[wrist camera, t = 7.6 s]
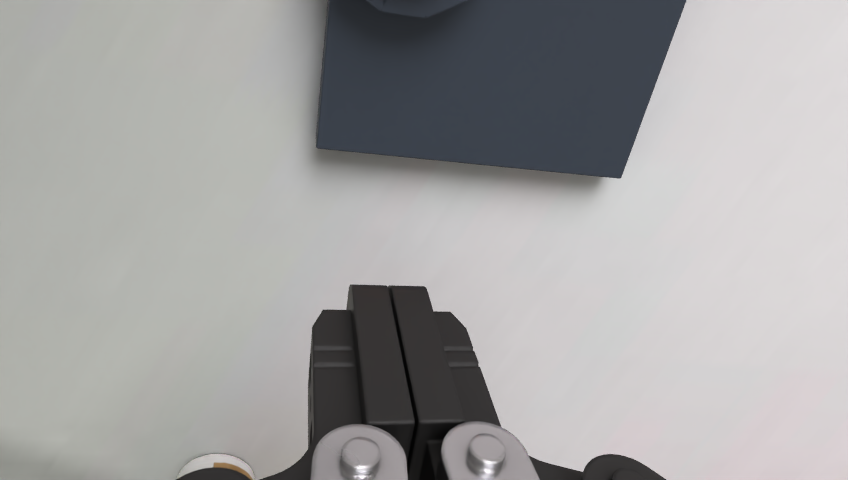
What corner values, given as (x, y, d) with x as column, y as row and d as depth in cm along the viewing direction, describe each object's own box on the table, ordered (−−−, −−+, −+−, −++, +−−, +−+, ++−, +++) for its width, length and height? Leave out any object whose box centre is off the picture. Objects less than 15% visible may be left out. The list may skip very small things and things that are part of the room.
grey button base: (302, 134, 26) (301, 163, 23) (329, -208, 20) (332, -220, 17) (608, 166, 29) (637, 194, 26) (709, -119, 23) (758, -118, 21)
